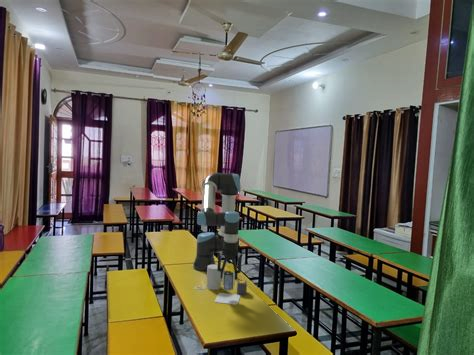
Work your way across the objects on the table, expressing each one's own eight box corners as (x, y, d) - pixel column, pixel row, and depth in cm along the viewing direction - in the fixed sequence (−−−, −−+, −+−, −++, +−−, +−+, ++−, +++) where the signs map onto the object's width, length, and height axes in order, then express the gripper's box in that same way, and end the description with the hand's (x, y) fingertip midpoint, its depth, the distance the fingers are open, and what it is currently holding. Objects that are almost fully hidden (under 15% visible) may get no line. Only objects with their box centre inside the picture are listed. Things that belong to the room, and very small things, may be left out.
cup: (218, 290, 190) (219, 269, 189) (204, 288, 191) (205, 268, 191) (222, 285, 198) (223, 265, 197) (208, 283, 199) (209, 263, 199)
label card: (195, 286, 194) (195, 286, 194) (204, 287, 193) (204, 287, 193) (194, 288, 191) (194, 288, 191) (203, 289, 190) (203, 289, 190)
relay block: (236, 291, 191) (237, 280, 190) (245, 291, 191) (246, 280, 191) (237, 294, 186) (237, 283, 185) (246, 295, 186) (246, 283, 186)
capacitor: (222, 289, 177) (223, 273, 176) (224, 286, 182) (225, 270, 181) (232, 290, 176) (233, 274, 176) (233, 287, 181) (234, 271, 180)
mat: (218, 293, 186) (218, 292, 186) (240, 295, 184) (240, 295, 184) (214, 302, 174) (214, 301, 174) (237, 304, 172) (237, 304, 172)
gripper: (212, 241, 175) (210, 285, 176) (246, 244, 173) (244, 289, 174) (215, 238, 183) (213, 280, 184) (248, 241, 180) (246, 284, 181)
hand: (228, 284), depth 179 cm, fingers closed on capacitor, 5 cm apart
